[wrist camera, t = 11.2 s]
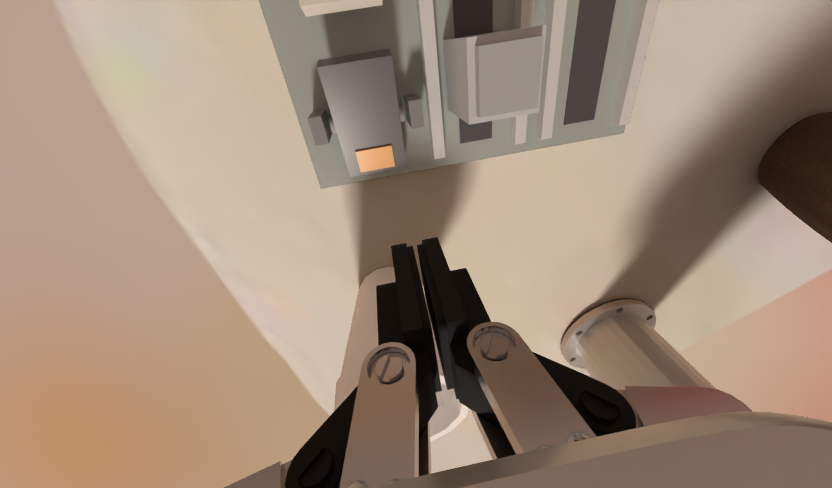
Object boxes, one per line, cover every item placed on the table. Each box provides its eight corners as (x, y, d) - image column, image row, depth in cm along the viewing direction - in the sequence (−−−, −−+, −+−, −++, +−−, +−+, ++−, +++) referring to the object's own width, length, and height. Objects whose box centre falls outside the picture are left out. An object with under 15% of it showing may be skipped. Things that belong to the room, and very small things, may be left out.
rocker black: (408, 156, 22) (411, 167, 21) (345, 168, 22) (346, 179, 21) (394, 47, 17) (397, 55, 16) (312, 61, 17) (310, 69, 16)
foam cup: (357, 330, 34) (355, 460, 23) (330, 267, 29) (312, 396, 18) (439, 310, 34) (475, 430, 24) (426, 244, 29) (465, 358, 19)
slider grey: (503, 99, 21) (544, 114, 16) (447, 109, 21) (472, 127, 16) (505, 30, 19) (553, 23, 14) (442, 40, 19) (470, 37, 14)
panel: (606, 127, 26) (649, 141, 22) (323, 179, 24) (316, 203, 21) (681, -232, 16) (784, -323, 12) (210, -177, 14) (155, -258, 11)
